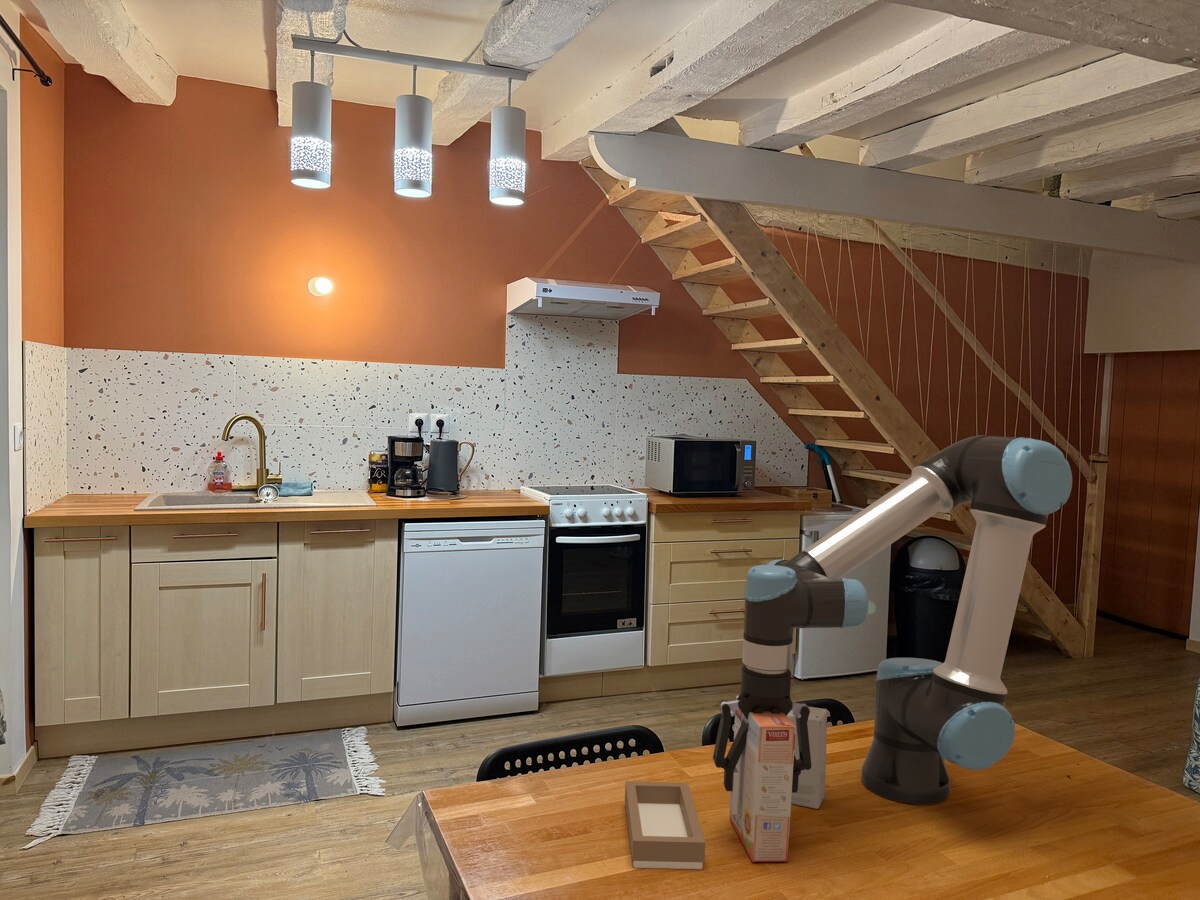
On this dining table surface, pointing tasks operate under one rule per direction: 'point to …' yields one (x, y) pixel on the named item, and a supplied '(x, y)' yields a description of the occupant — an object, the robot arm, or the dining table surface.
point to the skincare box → (812, 760)
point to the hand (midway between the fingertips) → (759, 810)
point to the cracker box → (765, 786)
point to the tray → (663, 826)
